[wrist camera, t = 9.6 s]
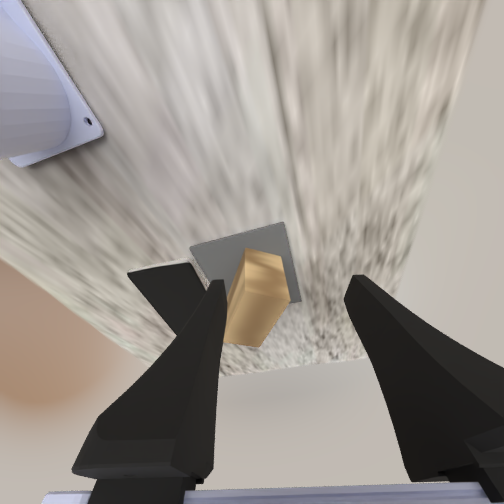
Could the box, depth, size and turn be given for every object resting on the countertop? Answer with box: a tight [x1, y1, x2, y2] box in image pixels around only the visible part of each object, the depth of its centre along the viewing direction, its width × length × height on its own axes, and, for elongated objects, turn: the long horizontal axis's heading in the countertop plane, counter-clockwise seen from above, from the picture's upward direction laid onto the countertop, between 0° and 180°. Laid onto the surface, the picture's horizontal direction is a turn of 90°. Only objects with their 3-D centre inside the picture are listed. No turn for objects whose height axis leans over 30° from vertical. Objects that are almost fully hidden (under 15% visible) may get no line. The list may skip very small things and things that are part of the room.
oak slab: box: [223, 247, 291, 347], centre depth 21 cm, size 4×8×6 cm, turn 162°
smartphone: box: [127, 258, 208, 335], centre depth 27 cm, size 8×1×15 cm
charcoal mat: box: [190, 222, 301, 304], centre depth 23 cm, size 12×10×1 cm
